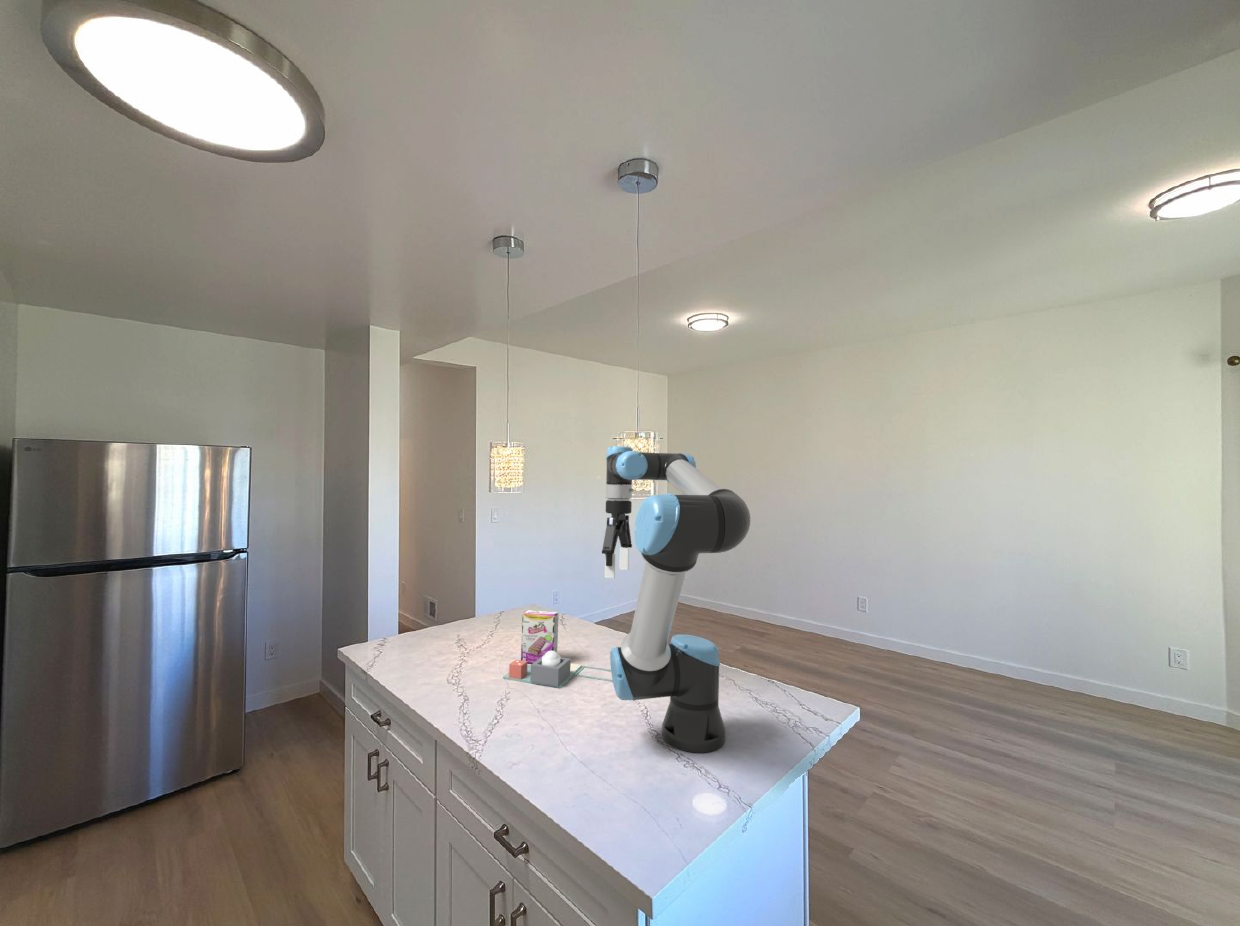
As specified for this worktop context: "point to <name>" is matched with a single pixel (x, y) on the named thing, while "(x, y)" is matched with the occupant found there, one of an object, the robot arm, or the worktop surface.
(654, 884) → the worktop surface
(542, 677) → the game board
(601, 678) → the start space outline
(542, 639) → the candy bar box
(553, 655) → the dome plunger
